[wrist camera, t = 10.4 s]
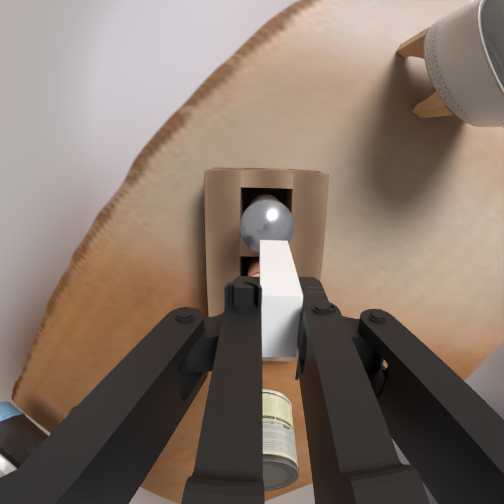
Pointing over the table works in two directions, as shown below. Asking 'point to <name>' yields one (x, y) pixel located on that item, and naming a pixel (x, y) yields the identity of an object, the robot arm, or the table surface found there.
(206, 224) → the wooden slotted block
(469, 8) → the planter
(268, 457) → the coffee can
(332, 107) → the table surface
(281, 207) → the grey plug
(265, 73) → the table surface
